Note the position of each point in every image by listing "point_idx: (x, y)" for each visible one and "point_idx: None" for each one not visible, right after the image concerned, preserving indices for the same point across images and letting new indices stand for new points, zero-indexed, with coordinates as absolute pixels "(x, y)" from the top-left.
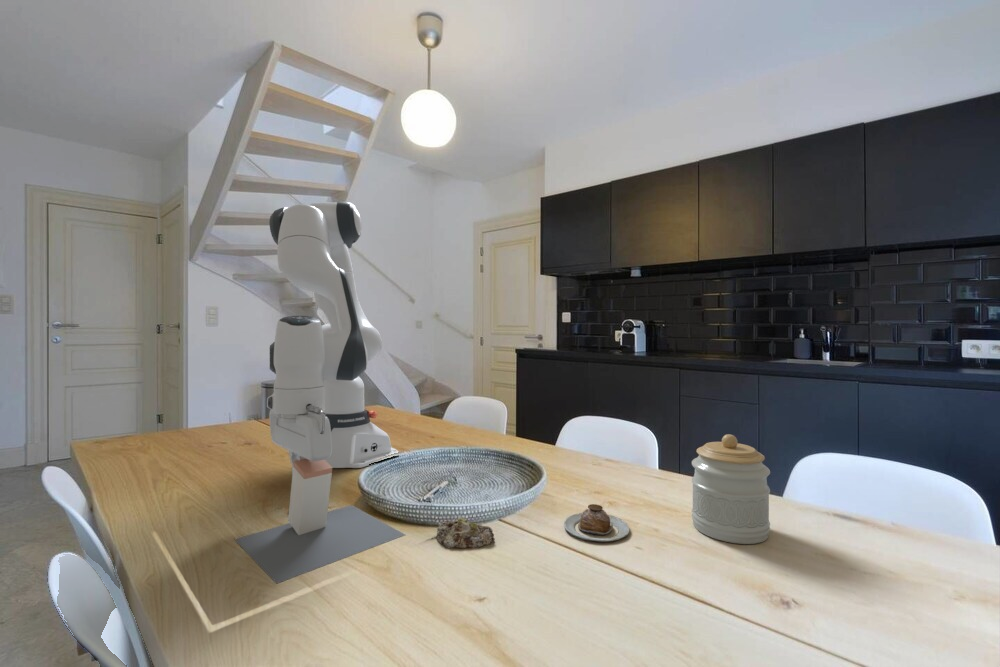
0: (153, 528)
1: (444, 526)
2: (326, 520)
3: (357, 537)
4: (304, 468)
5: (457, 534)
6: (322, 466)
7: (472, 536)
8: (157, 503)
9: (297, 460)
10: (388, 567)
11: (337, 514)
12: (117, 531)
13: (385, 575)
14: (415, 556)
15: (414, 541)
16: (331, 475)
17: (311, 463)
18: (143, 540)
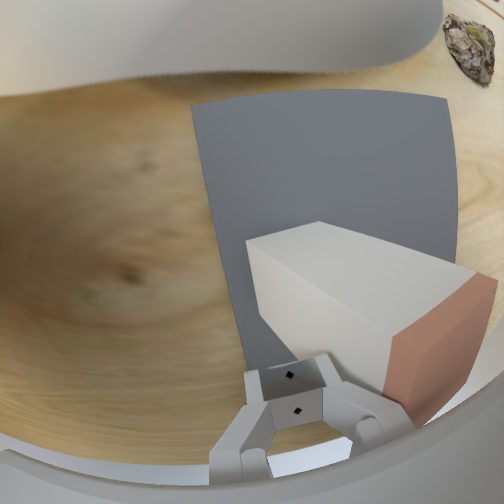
0: (125, 445)
1: (477, 58)
2: (329, 224)
3: (416, 178)
4: (447, 396)
5: (486, 61)
6: (479, 328)
7: (491, 54)
8: (35, 421)
9: (264, 437)
10: (488, 181)
11: (247, 165)
12: (122, 461)
13: (496, 195)
14: (485, 132)
15: (455, 98)
16: (465, 268)
17: (442, 384)
18: (166, 454)
